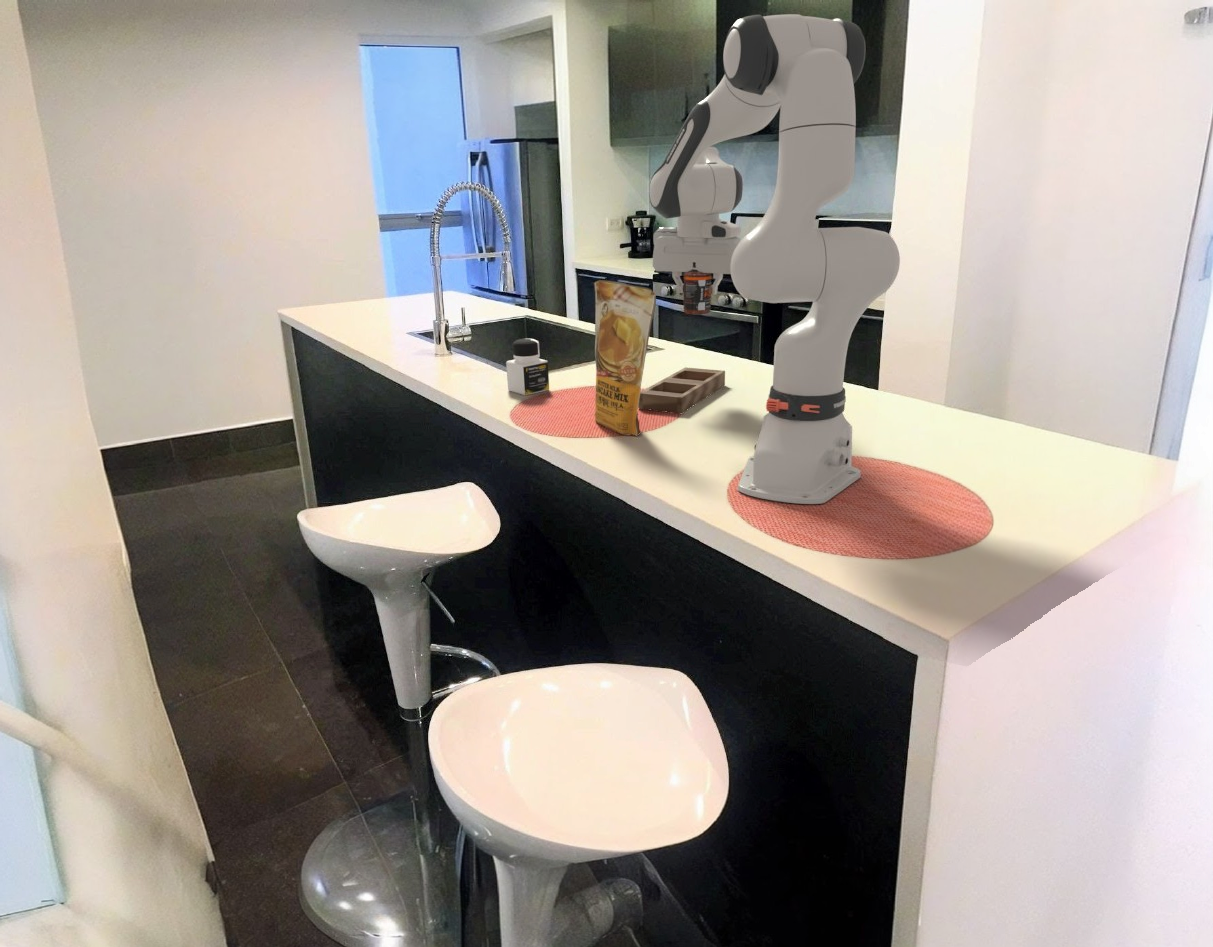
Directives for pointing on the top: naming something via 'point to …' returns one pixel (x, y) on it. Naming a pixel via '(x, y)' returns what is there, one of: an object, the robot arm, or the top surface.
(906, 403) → the top surface
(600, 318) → the pancake mix bag
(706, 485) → the top surface
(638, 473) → the top surface
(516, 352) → the medicine bottle
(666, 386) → the rail
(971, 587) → the top surface
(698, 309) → the supplement bottle
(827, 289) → the robot arm
